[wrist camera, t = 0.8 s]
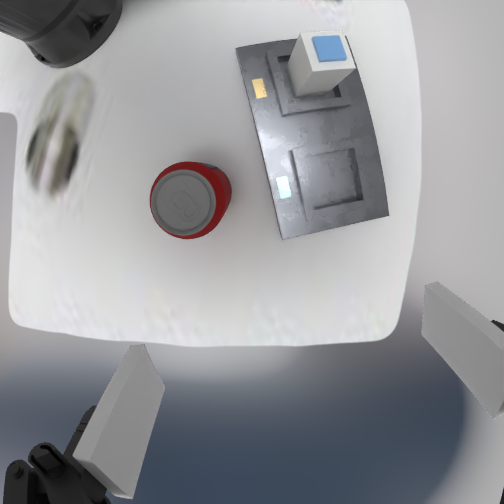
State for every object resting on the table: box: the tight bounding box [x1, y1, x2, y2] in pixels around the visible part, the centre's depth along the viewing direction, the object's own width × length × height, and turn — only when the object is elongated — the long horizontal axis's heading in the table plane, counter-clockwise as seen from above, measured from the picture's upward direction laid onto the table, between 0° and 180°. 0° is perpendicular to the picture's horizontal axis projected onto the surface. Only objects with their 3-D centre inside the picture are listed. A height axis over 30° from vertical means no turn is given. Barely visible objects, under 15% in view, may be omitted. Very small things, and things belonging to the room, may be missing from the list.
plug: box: [286, 30, 356, 99], centre depth 24 cm, size 4×4×11 cm
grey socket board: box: [236, 36, 389, 240], centre depth 30 cm, size 24×14×4 cm, turn 13°
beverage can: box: [150, 162, 232, 239], centre depth 28 cm, size 7×7×12 cm
